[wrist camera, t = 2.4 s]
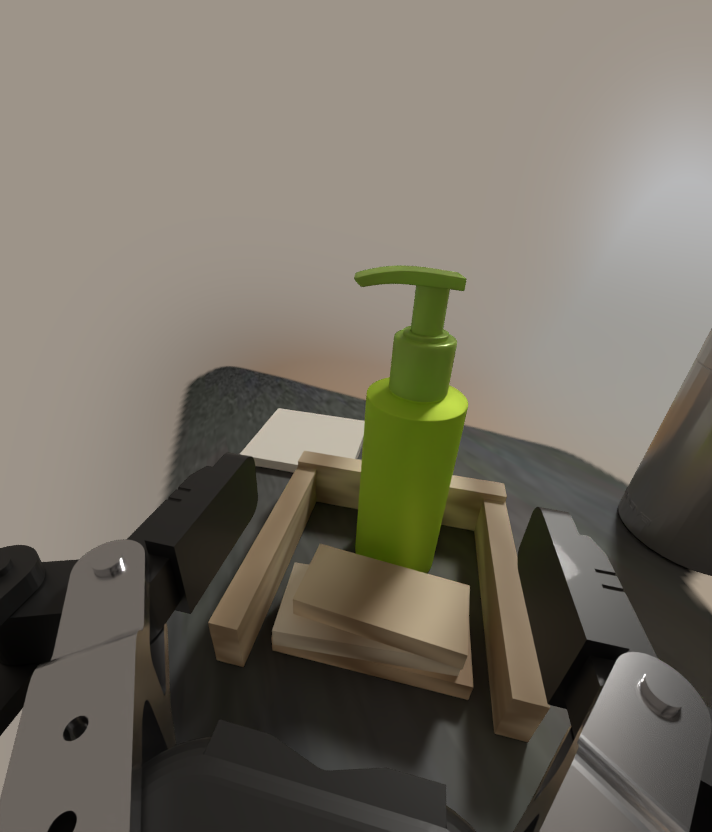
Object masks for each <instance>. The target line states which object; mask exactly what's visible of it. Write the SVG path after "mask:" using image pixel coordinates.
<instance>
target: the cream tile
mask: <svg viewBox="0 0 712 832" xmlns="http://www.w3.org/2000/svg"><path fill="white" fill-rule="evenodd" d="M364 423H365V421H360V420H354V419H347V418H340V417H334V416H327V415H320V414H313V413H307V412H300V411H293V410H287V409H280V408H278V410H277V411H276V412H275V413H274V414H273V415H272V417H271V418H270V419H269V420H268V421H267V423H266V424H265V425H264V426H263V427H262V428H261V430H260V431H259V432H258V433H257V434H256V436H255V437H254V438H253V439H252V440H251V441H250V443H249V444H248V445H247V446H246V447H245V449H244V450H243V451H242V452H241V453H240V454H241V455H247V456H252V457H253V458H254V461H255V466H260V467H265V468H271V469H277V470H282V471H288V472H295V470H296V469H297V467H298V460H299V458H300V457H301V455H302V453H303V452H304V451H310V452H316V453H322V454H327V455H334V456H340V457H346V458H352V459H357V458H358V456H359V453H360V450H361V447H362V444H363V437H364Z"/></svg>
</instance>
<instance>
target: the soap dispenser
mask: <svg viewBox="0 0 712 832" xmlns="http://www.w3.org/2000/svg"><path fill="white" fill-rule="evenodd" d="M354 279H355V281H356V282H357V283H358V284H359V285H360V286H361V287H365V286H372V285H379V284H409V285H416V291H415V299H414V307H413V316H412V323H411V326H408V327H406V328H404V329H403V330H400V331H398V332H397V333H396V334H395V336H394V342H393V352H392V361H391V371H390V377H389V378H385V379H381V380H379V381H376V382H375V383H373V384H372V385H371V386H370V387H369V388H368V390H367V397H366V410H365V423H364V437H363V450H362V464H361V477H360V490H359V504H358V517H357V531H356V544H355V552H356V554H359V555H362V556H366V557H369V558H373V559H377V560H380V561H384V562H387V563H391V564H394V565H398V566H401V567H405V568H409V569H412V570H416V571H419V572H423V573H426V574H427V573H428V571H429V570H430V568H431V566H432V562H433V558H434V554H435V549H436V545H437V541H438V536H439V532H440V527H441V523H442V519H443V514H444V510H445V505H446V501H447V497H448V492H449V488H450V483H451V479H452V475H453V470H454V466H455V461H456V457H457V453H458V448H459V444H460V439H461V435H462V431H463V426H464V422H465V417H466V413H467V408H468V402H467V399H466V397H465V396H464V395H463V394H462V393H461V392H460V391H458V390H457V389H455V388H454V387H452V386H450V385H449V382H450V377H451V372H452V367H453V362H454V357H455V351H456V346H457V340H456V339H455V338H454V337H453V336H451V335H449V333H448V332H447V331H446V330H444V329H443V327H444V321H445V315H446V309H447V303H448V297H449V291H450V289H452V290H459V291H464V290H465V285H466V278H465V277H464V276H462V275H461V274H459V273H457V272H451V271H445V270H439V269H433V268H426V267H417V266H386V267H379V268H373V269H368V270H363V271H360V272H357V273H356V274H355V277H354Z"/></svg>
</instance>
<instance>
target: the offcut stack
mask: <svg viewBox="0 0 712 832" xmlns="http://www.w3.org/2000/svg"><path fill="white" fill-rule="evenodd" d="M469 598H470V586H469V585H466V584H462V583H459V582H455V581H451V580H448V579H444V578H441V577H437V576H434V575H430V574H426V573H423V572H419V571H416V570H412V569H409V568H405V567H401V566H398V565H394V564H391V563H387V562H384V561H380V560H377V559H373V558H369V557H366V556H362V555H359V554H355V553H352V552H348V551H344V550H341V549H337V548H334V547H330V546H327V545H323V544H320V545H319V547H318V549H317V551H316V553H315V555H314V557H313V559H312V561H311V563H310V565H307V564H301V563H295V564H294V567H293V570H292V573H291V576H290V579H289V582H288V585H287V587H286V590H285V593H284V596H283V599H282V602H281V605H280V608H279V611H278V614H277V617H276V620H275V623H274V626H273V629H272V637H271V639H272V649H273V651H277V652H281V653H285V654H289V655H293V656H297V657H301V658H305V659H309V660H313V661H317V662H321V663H325V664H328V665H332V666H336V667H340V668H344V669H348V670H352V671H356V672H360V673H364V674H368V675H372V676H376V677H380V678H384V679H388V680H391V681H395V682H399V683H403V684H407V685H411V686H415V687H419V688H423V689H427V690H431V691H435V692H439V693H443V694H447V695H451V696H454V697H458V698H462V699H466V700H468V699H469V697H470V694H471V692H472V690H473V674H472V659H471V644H470V628H469Z"/></svg>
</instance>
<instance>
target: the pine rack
mask: <svg viewBox="0 0 712 832" xmlns="http://www.w3.org/2000/svg"><path fill="white" fill-rule="evenodd" d="M361 464H362V460H358V459H352V458H346V457H340V456H334V455H327V454H322V453H316V452H310V451H304V452H303V453H302V455H301V457H300V458H299V460H298V467H297V469H296V470H295V472H294V474H293V476H292V477H291V479H290V481H289V483H288V484H287V486H286V488H285V489H284V491H283V493H282V495H281V496H280V498H279V500H278V502H277V503H276V505H275V507H274V509H273V510H272V512H271V514H270V516H269V517H268V519H267V521H266V523H265V524H264V526H263V528H262V529H261V531H260V533H259V535H258V536H257V538H256V540H255V542H254V543H253V545H252V547H251V549H250V550H249V552H248V554H247V556H246V557H245V559H244V561H243V563H242V564H241V566H240V568H239V569H238V571H237V573H236V575H235V576H234V578H233V580H232V582H231V583H230V585H229V587H228V589H227V590H226V592H225V594H224V596H223V597H222V599H221V601H220V603H219V604H218V606H217V608H216V610H215V611H214V613H213V615H212V616H211V618H210V620H209V622H208V625H209V629H210V633H211V638H212V642H213V646H214V650H215V654H216V659H217V660H218V661H222V662H226V663H230V664H234V665H237V666H241V667H244V665H245V663H246V660H247V658H248V656H249V654H250V651H251V649H252V647H253V644H254V642H255V640H256V638H257V635H258V633H259V631H260V629H261V626H262V624H263V622H264V619H265V617H266V615H267V613H268V610H269V608H270V606H271V604H272V601H273V599H274V597H275V594H276V592H277V590H278V588H279V585H280V583H281V581H282V579H283V576H284V574H285V572H286V569H287V567H288V565H289V563H290V560H291V558H292V556H293V554H294V551H295V549H296V547H297V544H298V542H299V540H300V538H301V535H302V533H303V531H304V529H305V526H306V524H307V522H308V519H309V517H310V515H311V513H312V510H313V508H314V506H315V503H316V502H322V503H327V504H332V505H338V506H343V507H349V508H354V509H358V504H359V490H360V477H361ZM506 498H507V495H506V491H505V486H504V484H503V483H498V482H492V481H485V480H479V479H473V478H467V477H461V476H454V475H452V479H451V483H450V488H449V492H448V497H447V501H446V505H445V510H444V514H443V519H442V523H441V525H445V526H451V527H456V528H461V529H467V530H472V531H474V534H475V544H476V554H477V564H478V574H479V584H480V595H481V605H482V615H483V625H484V635H485V645H486V655H487V665H488V675H489V685H490V695H491V705H492V715H493V725H494V734H498V735H502V736H506V737H510V738H513V739H517V740H521V741H525V742H529V740H530V739H531V737H532V735H533V734H534V732H535V731H536V729H537V728H538V726H539V724H540V723H541V721H542V720H543V718H544V717H545V715H546V713H547V712H548V710H549V709H550V705H548V704H547V699H546V695H545V690H544V686H543V681H542V677H541V672H540V668H539V663H538V659H537V654H536V650H535V645H534V641H533V636H532V632H531V627H530V623H529V618H528V614H527V609H526V605H525V600H524V596H523V591H522V586H521V582H520V577H519V573H518V565H517V559H518V558H517V554H516V549H515V544H514V540H513V535H512V531H511V526H510V522H509V517H508V512H507V508H506V503H505V501H506Z"/></svg>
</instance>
